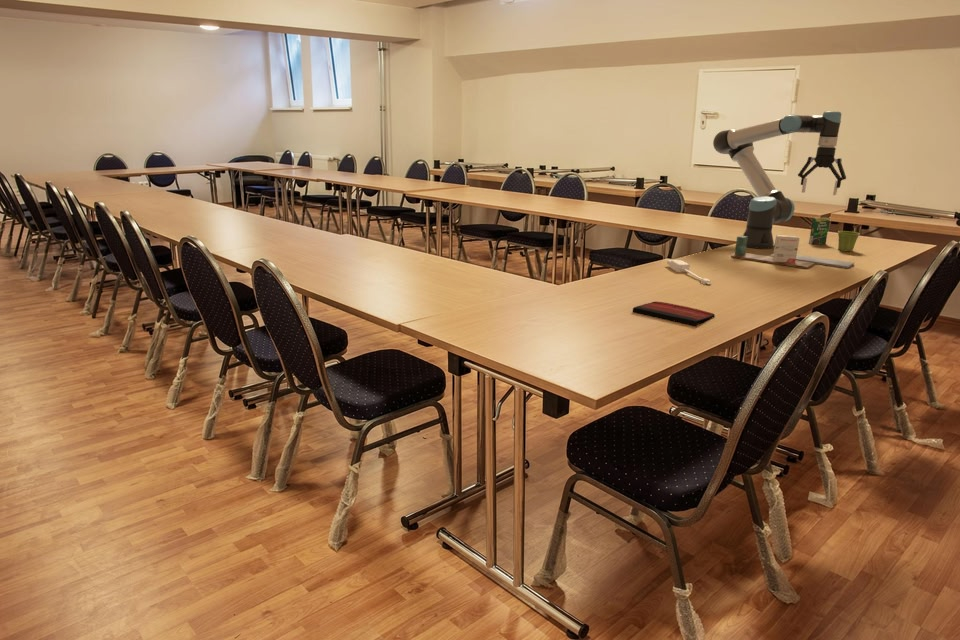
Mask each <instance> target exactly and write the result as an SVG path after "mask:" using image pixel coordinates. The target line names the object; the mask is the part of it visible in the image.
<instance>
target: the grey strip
mask: <svg viewBox="0 0 960 640" xmlns="http://www.w3.org/2000/svg"><path fill="white" fill-rule="evenodd" d="M775 241H776V238H775ZM775 241H774V242H775ZM774 247H775V244H774V245H773V248H774ZM773 253H774V251H773V252H772V254H769V256H771V257H773ZM796 260H798V261H805V262H812V263H815V265H816V264H817V265H822V266H828V267H829V266H830V267H837V268H844V269H850V268H851V267H852V266H854V265H855V262H851V261H846V260H840V259H839V260H838V259H832V258H825V257H817V256H811V255H804V254H797V255H796Z"/></svg>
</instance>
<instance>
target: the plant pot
mask: <svg viewBox="0 0 960 640" xmlns="http://www.w3.org/2000/svg"><path fill="white" fill-rule="evenodd" d="M837 233H838V234H837V235H838V250H839V251H840V252H841V251H843V252H853V250H854V247H855V245H856V242H857V240H858V238H859V236H860V234H861V233H859V232H856V231H845V230H838V231H837Z"/></svg>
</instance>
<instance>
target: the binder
mask: <svg viewBox="0 0 960 640" xmlns="http://www.w3.org/2000/svg"><path fill="white" fill-rule="evenodd" d="M632 313H634V314H636V315H637V314H638V315H642V316H646V317H650V318H656V319H660V320H663V321H669V322H673V323H678V324H682V325H687V326H690V327H695V328H697V325H698V323H699V325H702V324H704V323H706V322H708V321H709V320H712V319H713V318H715V316H716V315H715V314H714V313H712V312H709V311H706V310H701V309H699V308H693V307H690V306H685V305H679V304H675V303H674V304H673V303H669V302H662V301H651V302H649V303H644V304H640V305H637V306H634V307H632Z"/></svg>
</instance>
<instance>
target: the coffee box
mask: <svg viewBox="0 0 960 640" xmlns="http://www.w3.org/2000/svg"><path fill="white" fill-rule="evenodd" d="M830 220H831V219H830V218H829V217H812V222H811V228H810V233H809V240H808V244H810V245H826V244H827V243H826V242H827V238H828V232H829V226H830Z"/></svg>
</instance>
